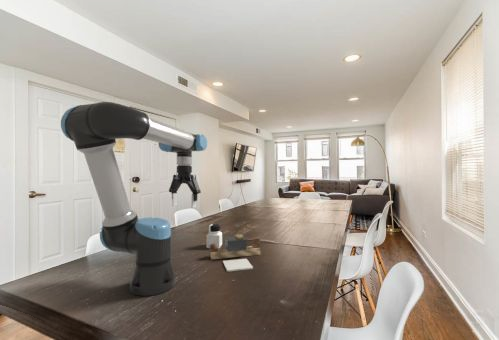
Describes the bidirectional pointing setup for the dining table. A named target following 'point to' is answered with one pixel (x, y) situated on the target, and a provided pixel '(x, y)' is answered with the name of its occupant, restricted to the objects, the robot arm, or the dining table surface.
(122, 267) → the dining table surface
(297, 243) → the dining table surface
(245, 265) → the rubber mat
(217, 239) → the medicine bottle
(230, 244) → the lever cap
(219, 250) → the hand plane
